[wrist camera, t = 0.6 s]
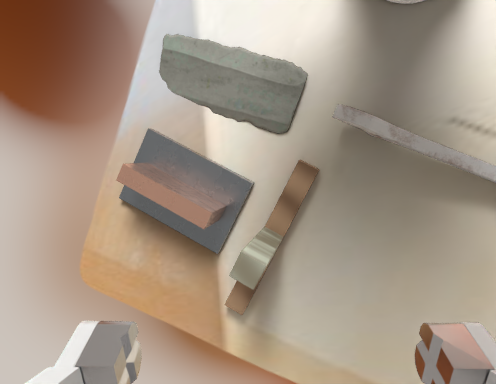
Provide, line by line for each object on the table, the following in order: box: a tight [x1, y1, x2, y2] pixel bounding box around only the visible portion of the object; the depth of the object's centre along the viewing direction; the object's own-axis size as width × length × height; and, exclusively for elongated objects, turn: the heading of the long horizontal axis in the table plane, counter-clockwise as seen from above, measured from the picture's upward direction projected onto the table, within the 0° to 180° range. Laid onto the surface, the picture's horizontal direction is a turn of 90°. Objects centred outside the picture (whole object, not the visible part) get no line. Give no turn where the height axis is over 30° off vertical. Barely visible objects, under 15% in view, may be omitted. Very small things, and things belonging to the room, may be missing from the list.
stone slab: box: [159, 34, 308, 133], centre depth 55 cm, size 22×3×10 cm
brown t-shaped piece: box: [225, 160, 319, 315], centre depth 48 cm, size 24×3×16 cm, turn 153°
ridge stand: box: [117, 128, 254, 254], centre depth 54 cm, size 12×18×8 cm, turn 63°
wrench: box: [332, 104, 496, 183], centre depth 47 cm, size 8×2×30 cm
